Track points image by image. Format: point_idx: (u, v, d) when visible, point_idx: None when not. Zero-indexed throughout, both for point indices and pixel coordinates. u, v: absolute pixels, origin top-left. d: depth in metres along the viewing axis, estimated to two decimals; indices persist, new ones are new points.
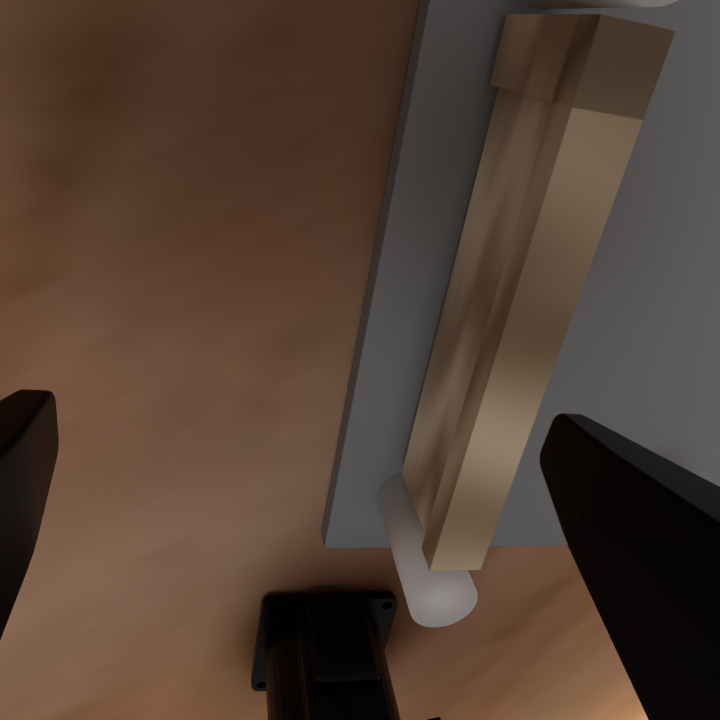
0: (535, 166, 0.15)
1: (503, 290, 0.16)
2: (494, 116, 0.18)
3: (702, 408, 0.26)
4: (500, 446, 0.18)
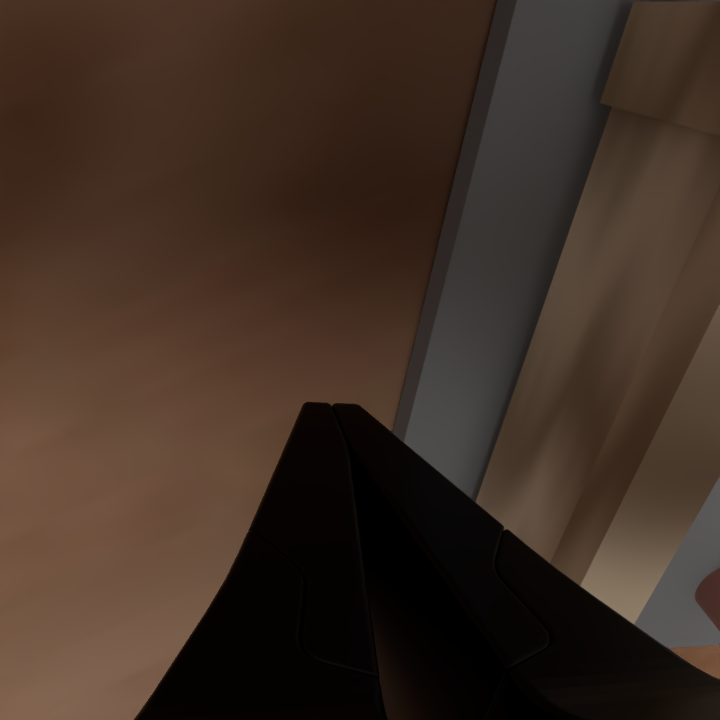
0: (702, 237, 0.10)
1: (633, 412, 0.11)
2: (603, 147, 0.13)
3: None
4: None
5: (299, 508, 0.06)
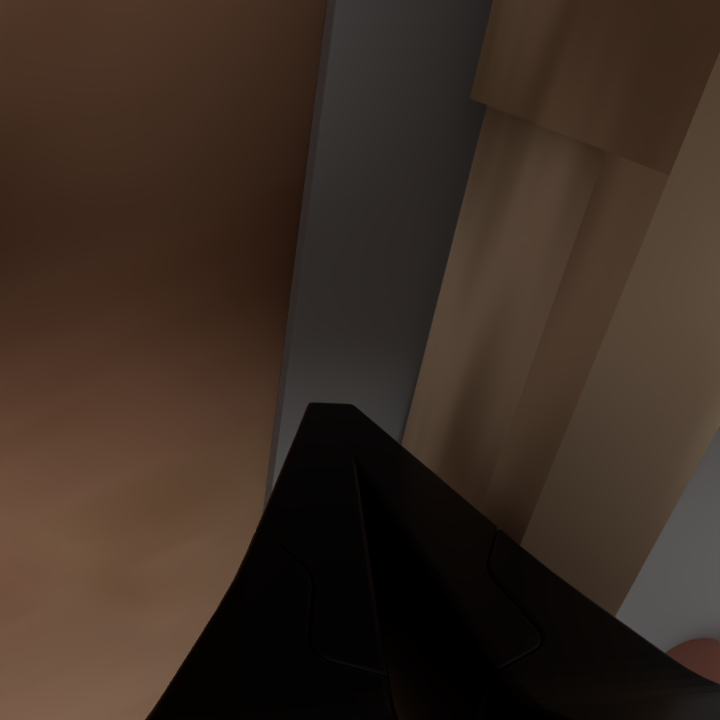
0: (563, 293, 0.06)
1: None
2: (479, 157, 0.10)
3: None
4: None
5: (306, 508, 0.06)
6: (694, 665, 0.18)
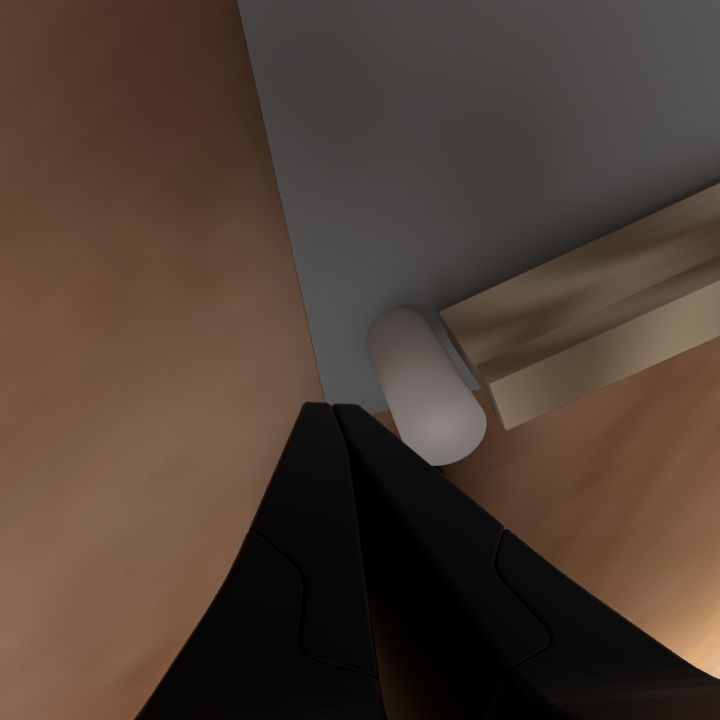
0: None
1: None
2: None
3: None
4: (669, 335, 0.17)
5: (299, 508, 0.06)
6: None
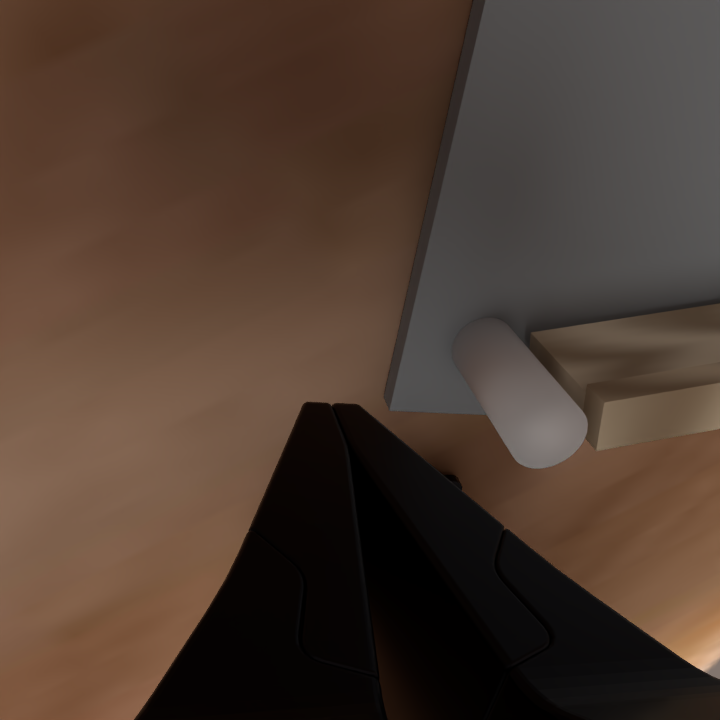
0: None
1: None
2: None
3: None
4: None
5: (299, 508, 0.06)
6: None
